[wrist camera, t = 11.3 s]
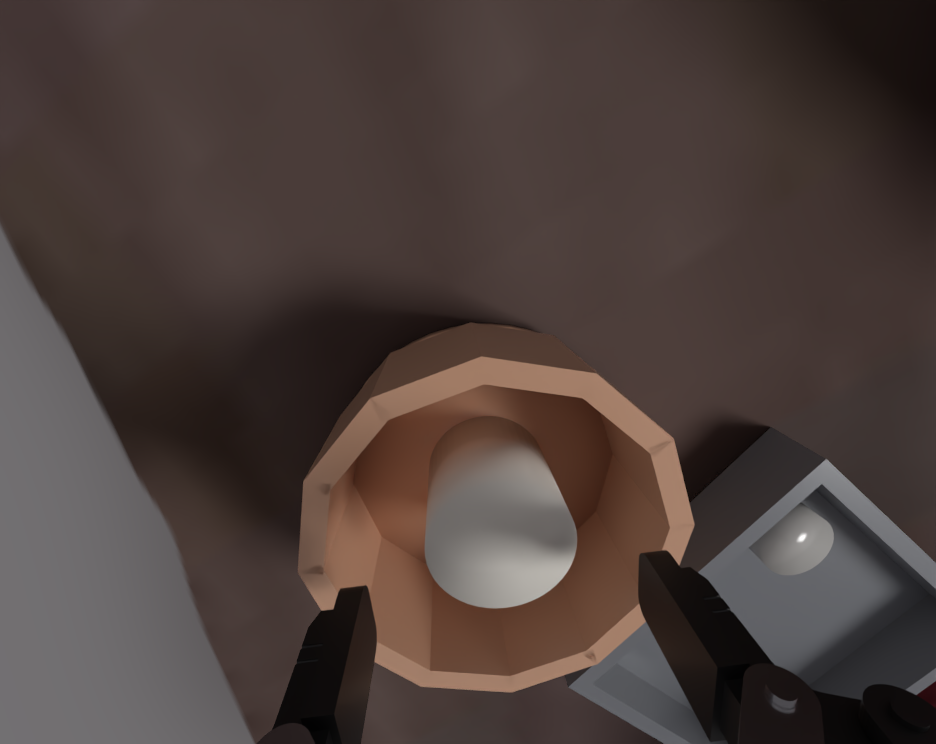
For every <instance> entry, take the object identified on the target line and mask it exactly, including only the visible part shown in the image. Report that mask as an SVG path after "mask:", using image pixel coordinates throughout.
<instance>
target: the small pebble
mask: <svg viewBox="0 0 936 744" xmlns="http://www.w3.org/2000/svg"><path fill="white" fill-rule="evenodd" d="M833 540H834V533H833V529H832V527H831V525H830V524H829V523H828V522H827V521H826V520H825V519H823V518H822V517H821V516H819V515H818V514H816V513H815V512H814V511H812V510H811V509H810V508H808V507H807V506H806V505H804V504H803V503H801V502H800V503H799V504H798V505H797V506H796V507H795V508H794V509H792V510H791V511H790V512H789V513H788V514H787V515H785V516H784V517H783V518H782V519H781V520H780V521H779V522H777V523H776V524H775V525H774V526H773V527H772V528H771V529H769V530H768V531H767V532H766V533H765V534H764V535H763V536H761V537H760V538H759V539H758V540H757V541H756V542H755V543H753V544H752V545H751V546H750V547H749V549H750V550H751V551H752V552H753V553H754V554H755V555H756V556H757V557H758V558H759V559H760V560H761V561H762V562H763V563H764V564H765V565H766V566H767V567H768V568H769V569H770V570H771V571H773V572H775V573H777V574H780V575H796V574H800V573H803V572H806V571H808V570H810V569H812V568H813V567H815V566H816V565H818V564H819V563H820V562H821V561H822V560H823V559H824V558H825V557H826V556H827V554H828V553H829V551H830V549H831V547H832V544H833Z"/></svg>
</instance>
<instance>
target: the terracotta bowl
mask: <svg viewBox="0 0 936 744" xmlns="http://www.w3.org/2000/svg"><path fill="white" fill-rule="evenodd" d="M481 416H496V417H502V418H506V419H509V420H512V421H514V422H516V423H518V424H520V425H521V426H523V427H524V428H525V429H527V430H528V431H529V432H530V433H531V434H532V436H533V437H534V438H535V440H536V441H537V443H538V445H539V447H540V449H541V451H542V453H543V455H544V458H545V460H546V462H547V464H548V466H549V468H550V471H551V473H552V475H553V477H554V479H555V481H556V484H557V486H558V488H559V490H560V492H561V494H562V497H563V499H564V501H565V503H566V505H567V507H568V510H569V512H570V514H571V516H572V518H573V521H574V523H575V527H576V531H577V549H576V553H575V557H574V560H573V562H572V564H571V566H570V568H569V570H568V572H567V573H566V574H565V576H564V577H563V579H562V580H561V581H560V582H559V583H558V584H557V585H556V586H555V587H553V588H552V589H551V590H550V591H548V592H547V593H545V594H544V595H542V596H541V597H539V598H537V599H535V600H533V601H530V602H528V603H525V604H522V605H518V606H514V607H508V608H484V607H478V606H474V605H470V604H467V603H464V602H462V601H460V600H458V599H456V598H454V597H452V596H451V595H450V594H448V593H447V592H445V591H444V590H443V589H442V588H441V587H440V586H439V585H438V584H437V582H436V581H435V580H434V578H433V577H432V575H431V573H430V571H429V569H428V566H427V563H426V558H425V532H426V514H427V496H428V478H429V464H430V458H431V454H432V452H433V449H434V447H435V446H436V444H437V442H438V441H439V440H440V438H441V437H442V436H443V435H444V434H445V433H446V432H447V431H448V430H450V429H451V428H452V427H454V426H455V425H457V424H459V423H461V422H463V421H465V420H468V419H471V418H475V417H481ZM694 525H695V524H694V520H693V516H692V512H691V507H690V503H689V499H688V495H687V491H686V487H685V483H684V479H683V475H682V471H681V466H680V462H679V458H678V454H677V450H676V446H675V442H674V438H673V437H671V436H670V435H669V434H668V433H667V432H666V431H665V430H663V429H662V428H661V427H660V426H659V425H658V424H657V423H655V422H654V421H653V420H652V419H651V418H650V417H649V416H647V415H646V414H645V413H644V412H643V411H642V410H641V409H639V408H638V407H637V406H636V405H635V404H634V403H632V402H631V401H630V400H629V399H628V398H627V397H626V396H624V395H623V394H622V393H621V392H620V391H619V390H618V389H616V388H615V387H614V386H613V385H612V384H610V383H609V382H608V381H607V380H606V379H605V378H603V377H602V376H601V375H600V374H599V373H597V372H596V371H595V370H594V369H593V368H592V367H590V366H589V365H588V364H587V363H586V362H584V361H583V360H582V359H581V358H580V357H579V356H578V355H576V354H575V353H574V352H573V351H571V350H570V349H569V348H568V347H567V346H566V345H564V344H563V343H562V342H561V341H560V340H559V339H557V338H556V337H555V336H554V335H548V334H542V333H537V332H535V331H532V330H529V329H525V328H521V327H516V326H512V325H504V324H493V323H482V324H477V323H471V322H470V323H467V324H465V325H461V326H455V327H449V328H446V329H443V330H440V331H436V332H433V333H430V334H428V335H426V336H424V337H421V338H419V339H417V340H415V341H413V342H411V343H409V344H408V345H406V346H405V347H403V348H401V349H399V350H396V351H394V352H391V353H390V354H389V355H388V356H387V358H386V359H385V360H384V361H383V363H382V364H381V365H380V366H379V367H378V368H377V369H376V370H375V371H374V373H373V374H372V375H371V376H370V377H369V378H368V379H367V381H366V382H365V384H364V385H363V387H362V388H361V390H360V391H359V393H358V394H357V395H356V397H355V398H354V399H353V400H352V402H351V403H350V404H349V405H348V407H347V408H346V409H345V410H344V412H343V413H342V414H341V415H340V417H339V419H338V421H337V422H336V424H335V426H334V428H333V430H332V431H331V433H330V435H329V437H328V438H327V440H326V442H325V444H324V445H323V447H322V449H321V451H320V452H319V454H318V456H317V458H316V460H315V461H314V463H313V465H312V467H311V468H310V470H309V472H308V474H307V475H306V477H305V479H304V481H303V496H302V512H301V528H300V543H299V559H298V574H299V575H300V577H301V579H302V580H303V582H304V583H305V585H306V586H307V588H308V590H309V591H310V593H311V594H312V596H313V598H314V599H315V601H316V602H317V604H318V606H319V607H320V609H321V610H322V611H323V610H331V609H333V608H334V605H335V602H336V598H337V595H338V592H339V590H340V589H341V588H347V587H356V586H364V585H366V586H367V587H368V589H369V594H370V599H371V604H372V608H373V613H374V618H375V623H376V630H377V647H376V654H375V660H374V662H376V663H378V664H380V665H381V666H383V667H385V668H387V669H389V670H391V671H393V672H395V673H396V674H398V675H400V676H402V677H404V678H406V679H408V680H410V681H412V682H413V683H415V684H417V685H419V686H421V687H435V688H450V689H466V690H481V691H497V692H514V691H517V690H521V689H524V688H527V687H530V686H533V685H536V684H539V683H542V682H545V681H548V680H551V679H554V678H557V677H560V676H563V675H566V674H569V673H572V672H575V671H578V670H581V669H584V668H587V667H590V666H593V665H596V664H598V663H600V662H601V661H602V660H603V659H604V658H605V657H606V656H607V655H609V654H610V653H611V652H612V651H613V650H614V649H615V648H617V647H618V646H619V645H620V644H621V643H622V642H623V641H624V640H626V639H627V638H628V637H629V636H630V635H631V634H632V633H634V632H635V631H636V630H637V629H638V628H639V627H640V626H642V625H643V624H644V623H645V622H646V621H645V619H644V616H643V614H642V611H641V608H640V604H639V599H638V571H639V555H640V553H646V552H654V551H662V550H667V551H668V552H669V553H670V554H671V555H672V556H673V558H674V559H675V561H676V562H677V563H678V565H680V563H681V560H682V557H683V555H684V552H685V549H686V547H687V544H688V541H689V539H690V536H691V533H692V531H693V528H694Z"/></svg>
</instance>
